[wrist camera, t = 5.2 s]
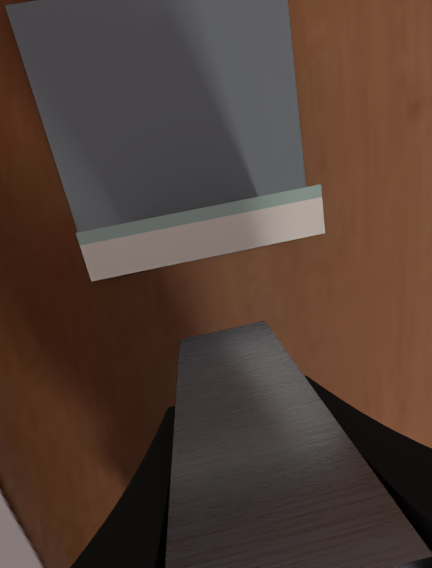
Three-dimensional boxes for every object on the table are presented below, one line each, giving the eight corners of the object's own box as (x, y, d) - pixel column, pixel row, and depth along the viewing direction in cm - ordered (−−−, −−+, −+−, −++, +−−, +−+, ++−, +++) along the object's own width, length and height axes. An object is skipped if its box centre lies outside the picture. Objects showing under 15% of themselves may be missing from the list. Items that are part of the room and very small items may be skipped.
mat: (308, 234, 18) (310, 234, 18) (95, 278, 17) (93, 280, 17) (281, -32, 14) (283, -39, 14) (10, 11, 14) (4, 5, 13)
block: (275, 393, 14) (429, 705, 5) (197, 412, 13) (216, 768, 5) (264, 320, 13) (433, 555, 4) (179, 339, 12) (160, 631, 4)
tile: (262, 224, 17) (324, 233, 9) (135, 250, 17) (91, 281, 9) (259, 198, 17) (320, 184, 9) (128, 224, 16) (75, 233, 9)
